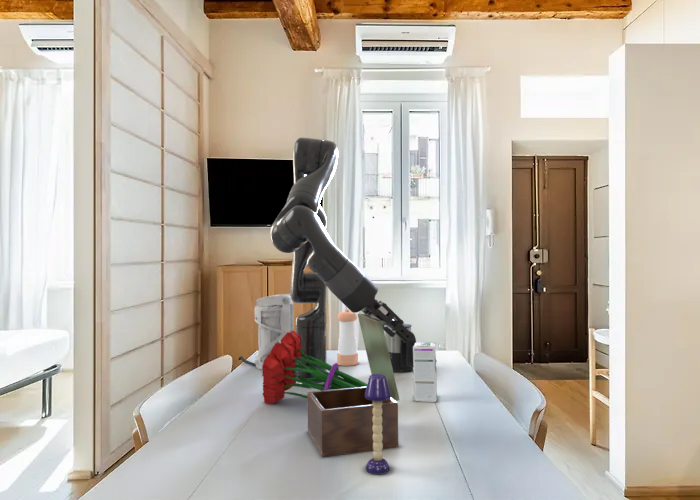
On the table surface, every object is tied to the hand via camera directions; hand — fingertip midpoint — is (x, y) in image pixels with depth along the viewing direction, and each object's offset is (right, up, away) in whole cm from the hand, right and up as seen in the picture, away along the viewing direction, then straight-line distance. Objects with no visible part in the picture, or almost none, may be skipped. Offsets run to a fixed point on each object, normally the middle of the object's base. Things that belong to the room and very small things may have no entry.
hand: (402, 337), depth 105 cm
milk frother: (+9, -21, +58) cm, 63 cm away
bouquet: (-19, -21, +20) cm, 35 cm away
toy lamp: (-6, -21, -18) cm, 28 cm away
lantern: (-38, -22, +65) cm, 78 cm away
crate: (-11, -21, -4) cm, 24 cm away
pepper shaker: (-12, -22, +68) cm, 72 cm away
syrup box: (+9, -21, +24) cm, 33 cm away
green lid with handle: (-6, -3, -2) cm, 7 cm away
